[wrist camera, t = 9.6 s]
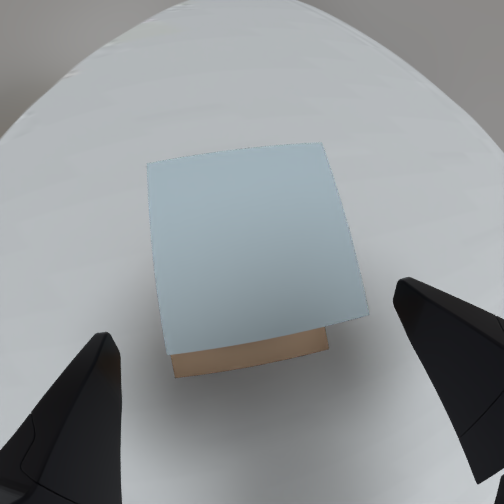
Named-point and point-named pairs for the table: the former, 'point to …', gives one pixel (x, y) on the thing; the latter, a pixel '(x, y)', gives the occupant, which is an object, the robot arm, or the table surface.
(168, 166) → the slate block
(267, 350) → the tan flat square block
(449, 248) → the table surface
